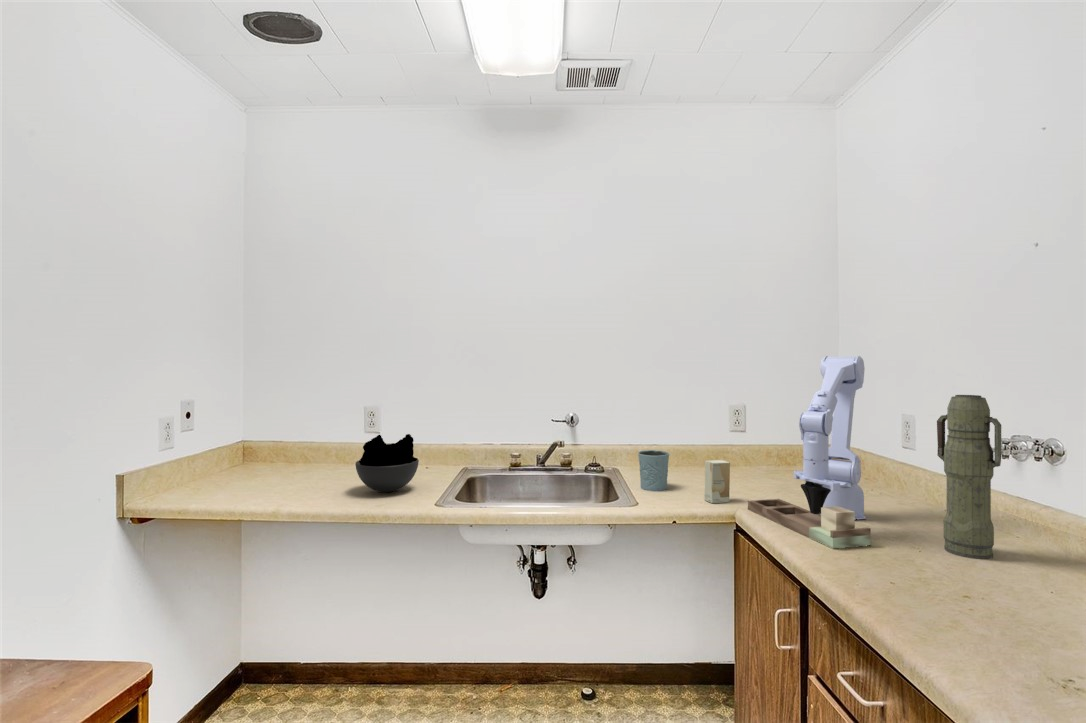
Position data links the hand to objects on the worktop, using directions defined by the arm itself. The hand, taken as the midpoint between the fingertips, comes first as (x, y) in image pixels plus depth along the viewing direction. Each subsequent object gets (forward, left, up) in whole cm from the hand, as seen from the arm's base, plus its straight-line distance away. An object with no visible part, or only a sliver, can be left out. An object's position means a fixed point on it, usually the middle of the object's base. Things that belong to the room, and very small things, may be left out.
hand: (815, 513), depth 138 cm
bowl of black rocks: (+108, -67, -5) cm, 127 cm away
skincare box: (+9, -32, -5) cm, 34 cm away
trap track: (0, -5, -5) cm, 7 cm away
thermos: (-23, +20, -5) cm, 31 cm away
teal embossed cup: (+21, -52, -5) cm, 56 cm away
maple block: (0, +8, -2) cm, 8 cm away
